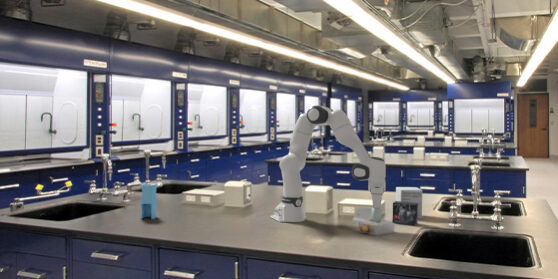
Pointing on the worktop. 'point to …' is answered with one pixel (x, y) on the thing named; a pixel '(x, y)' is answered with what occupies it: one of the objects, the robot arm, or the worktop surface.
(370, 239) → the worktop surface
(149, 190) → the blue tower block
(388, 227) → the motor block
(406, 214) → the small box
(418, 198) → the supplement box
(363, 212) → the hinge
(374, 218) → the pump canister
